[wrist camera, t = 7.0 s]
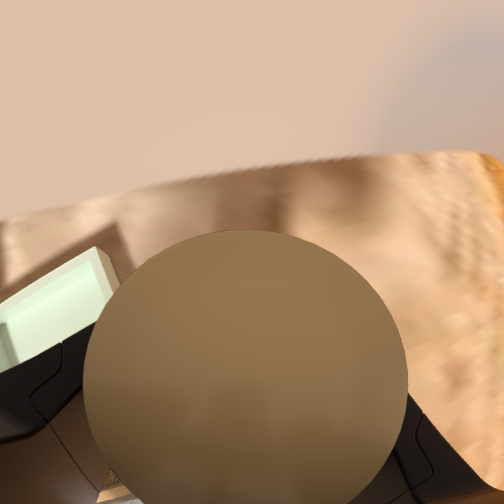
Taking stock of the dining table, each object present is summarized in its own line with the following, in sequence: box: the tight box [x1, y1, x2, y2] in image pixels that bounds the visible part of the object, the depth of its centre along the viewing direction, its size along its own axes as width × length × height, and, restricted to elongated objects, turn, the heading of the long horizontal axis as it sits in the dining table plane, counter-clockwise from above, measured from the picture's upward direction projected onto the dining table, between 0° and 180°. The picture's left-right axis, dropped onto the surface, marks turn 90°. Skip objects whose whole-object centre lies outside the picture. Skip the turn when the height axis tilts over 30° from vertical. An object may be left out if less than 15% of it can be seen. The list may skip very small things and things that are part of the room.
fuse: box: [83, 230, 408, 504], centre depth 9 cm, size 5×5×11 cm
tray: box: [0, 246, 120, 372], centre depth 18 cm, size 12×12×2 cm
